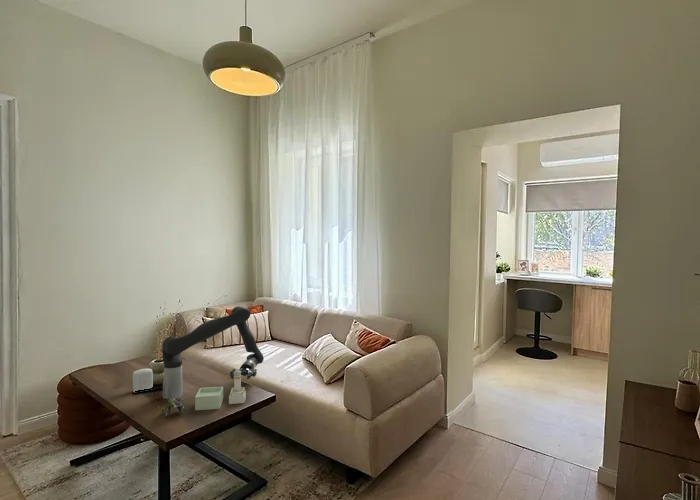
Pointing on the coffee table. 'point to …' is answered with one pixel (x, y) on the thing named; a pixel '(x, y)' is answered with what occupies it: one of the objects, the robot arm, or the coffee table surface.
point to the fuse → (237, 381)
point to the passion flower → (173, 403)
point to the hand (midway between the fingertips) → (240, 377)
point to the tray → (209, 398)
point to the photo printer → (142, 379)
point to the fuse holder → (237, 396)
